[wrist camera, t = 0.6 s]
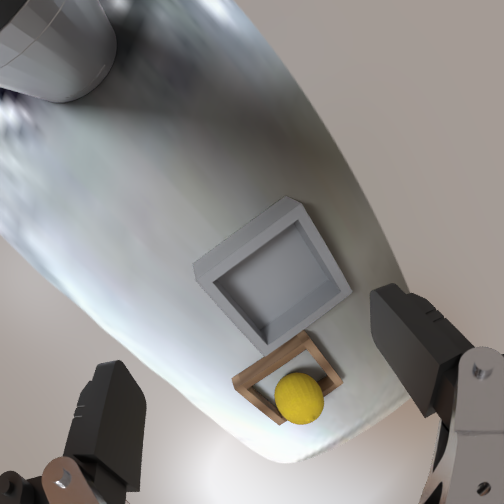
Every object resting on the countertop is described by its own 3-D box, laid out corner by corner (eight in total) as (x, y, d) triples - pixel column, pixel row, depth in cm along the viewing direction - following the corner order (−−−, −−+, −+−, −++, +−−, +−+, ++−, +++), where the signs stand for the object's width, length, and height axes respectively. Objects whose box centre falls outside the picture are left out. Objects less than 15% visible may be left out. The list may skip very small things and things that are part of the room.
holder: (192, 263, 30) (195, 280, 26) (285, 195, 30) (301, 203, 26) (255, 335, 34) (264, 356, 31) (335, 276, 34) (352, 292, 31)
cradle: (231, 378, 36) (234, 389, 34) (303, 329, 36) (309, 338, 34) (275, 415, 40) (279, 425, 38) (337, 373, 40) (343, 382, 38)
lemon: (259, 375, 37) (278, 422, 29) (298, 352, 37) (325, 396, 30) (278, 398, 39) (298, 442, 32) (314, 377, 39) (339, 418, 32)
